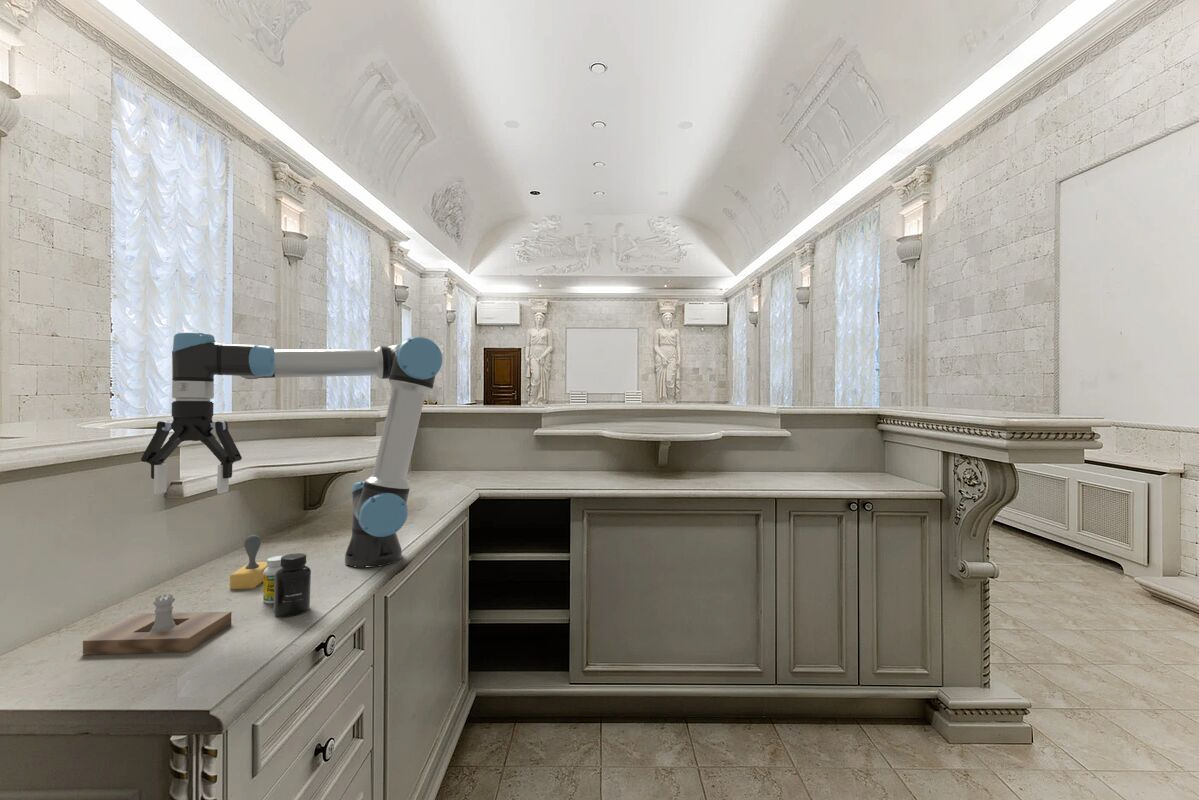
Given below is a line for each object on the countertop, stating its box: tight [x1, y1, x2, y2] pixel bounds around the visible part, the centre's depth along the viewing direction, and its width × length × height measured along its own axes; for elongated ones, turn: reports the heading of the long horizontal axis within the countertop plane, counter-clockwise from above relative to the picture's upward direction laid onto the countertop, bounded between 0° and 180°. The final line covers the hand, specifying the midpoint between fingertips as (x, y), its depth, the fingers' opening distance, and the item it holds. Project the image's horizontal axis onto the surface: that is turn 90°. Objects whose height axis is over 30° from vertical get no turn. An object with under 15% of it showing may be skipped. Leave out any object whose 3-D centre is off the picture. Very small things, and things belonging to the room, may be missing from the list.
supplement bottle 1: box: [262, 555, 283, 605], centre depth 118 cm, size 5×5×10 cm
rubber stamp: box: [229, 534, 268, 590], centre depth 130 cm, size 10×6×12 cm, turn 11°
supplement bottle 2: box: [273, 552, 312, 618], centre depth 112 cm, size 7×7×12 cm
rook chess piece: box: [150, 593, 177, 632], centre depth 98 cm, size 4×4×8 cm
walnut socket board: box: [82, 611, 232, 655], centre depth 98 cm, size 18×12×2 cm, turn 94°
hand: (191, 493), depth 117 cm, fingers open, 13 cm apart
